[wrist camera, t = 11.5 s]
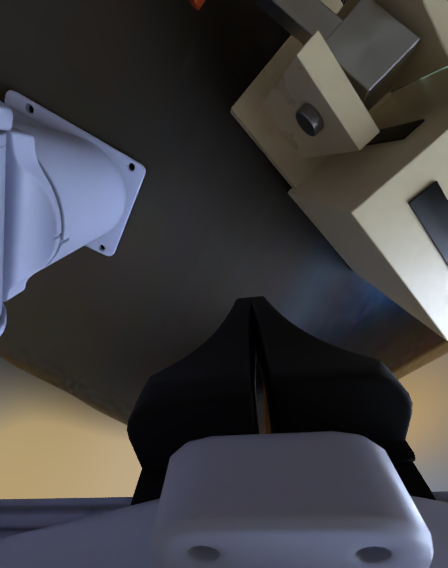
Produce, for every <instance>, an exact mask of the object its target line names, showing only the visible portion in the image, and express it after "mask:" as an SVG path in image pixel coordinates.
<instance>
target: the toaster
mask: <svg viewBox="0 0 448 568" xmlns="http://www.w3.org/2000/svg"><path fill="white" fill-rule="evenodd" d="M392 94H393V95H392V96H391V97H390V98H389V99H388V100H387V101H386V102H385V103H384V104H383V105H382V106H381V107H380V108H379V109H378V110H377V111H376V112H375V113H374V114H372V115H371V118H372V119H373V121H374V123H375V124H376V126H377V127H378V129H379V131H380V132H379V133H378V134H377V135H376V136H375V137H374V138H373V139H372V140H371V141H370V142H369V143H367V144H366V145H365V146H364V147H363V148H362V149H361V150H360V151H354V152H346V153H339V154H332V155H330V156H329V157H328V158H327V159H326V160H325V161H324V162H323V163H322V164H321V165H320V166H319V167H318V168H317V169H316V170H315V171H314V172H313V173H312V174H311V175H310V176H309V177H308V178H307V179H306V180H305V181H304V182H303V183H302V184H301V185H300V186H299V187H298V188H291V189H290V190H289V191H288V194H289V195H290V196H291V198H292V199H293V200H294V201H295V202H296V204H297V205H298V206H299V207H300V208H301V210H302V211H303V212H304V213H305V214H306V215H307V217H308V218H309V219H310V220H311V221H312V223H313V224H314V225H315V226H316V227H317V229H318V230H319V231H320V232H321V233H322V234H323V236H324V237H325V238H326V239H327V240H328V242H329V243H330V244H331V245H332V246H333V248H334V249H335V250H336V251H337V252H338V254H339V255H340V256H341V257H342V258H343V259H344V261H345V262H346V263H347V264H348V265H349V267H350V268H351V269H352V270H353V271H354V272H355V273H356V274H357V275H359V276H360V277H361V278H363V279H364V280H365V281H367V282H368V283H369V284H371V285H372V286H374V287H375V288H376V289H378V290H379V291H380V292H382V293H383V294H384V295H386V296H387V297H388V298H390V299H391V300H392V301H394V302H395V303H397V304H398V305H399V306H401V307H402V308H403V309H405V310H406V311H407V312H409V313H410V314H411V315H413V316H414V317H415V318H417V319H418V320H419V321H421V322H422V323H424V324H425V325H426V326H428V327H429V328H430V329H432V330H433V331H434V332H436V333H437V334H438V335H440V336H441V337H442V338H444V339H445V340H447V341H448V67H447V68H445V69H442V70H440V71H438V72H436V73H433V74H431V75H429V76H427V77H424V78H422V79H420V80H418V81H415V82H413V83H411V84H409V85H407V86H404V87H402V88H400V89H398V90H395V91H393V92H392Z"/></svg>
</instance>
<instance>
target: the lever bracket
mask: <svg viewBox="0 0 448 568" xmlns="http://www.w3.org/2000/svg"><path fill="white" fill-rule="evenodd" d="M320 1H321V2H322V3H324V4H325V5H326V6H327V7H328V8H330V9H331V10H332V11H333V12H334V13H335V14H337V15H338V16H339V17H340V18H341V19H343V20H344V19H345V17H346V16H347V15H348V14H349V13H350V12H351V11H352V9H353V8H354V7H355V6H356V5H357V4H358V3H359V1H360V0H347V1H346V3H345V4H344V5H343V4H342V2H341V0H320ZM374 1H375V2H376V3H377V4H379V5H380V6H381V7H382V8H384V9H385V10H386V11H387V12H389V13H390V14H391V15H392V16H394V17H395V18H396V19H397V20H399V21H400V22H401V23H402V24H403V25H405V26H406V27H407V28H408V29H410V30H411V31H412V32H413V33H415V34H416V35H417V36H418V37H420V40H419V42H418V44H417V46H416V48H415V50H414V51H413V53H412V55H411V57H410V59H409V61H408V63H407V65H406V67H405V68H404V70H403V72H402V74H401V76H400V78H399V80H398V82H397V83H396V85H395V86H394V87H393V88H392V89H391V90H390V91H389V92H388V93H387V94H386V95H385V96H384V97H383V98H382V99H381V100H380V101H379V102H378V103H377V104H376V105H375V106H373V107H372V108H371V109H370V110H369V111H367V109H366V108H365V106H364V104H363V103H362V101H361V99H360V98H359V96H358V95H357V93H356V91H355V90H354V88H353V86H352V85H351V83H350V81H349V80H348V78H347V76H346V75H345V73H344V71H343V70H342V68H341V66H340V65H339V63H338V62H337V60H336V58H335V57H334V55H333V53H332V52H331V50H330V48H329V47H328V45H327V43H326V42H325V40H324V38H323V37H322V35H321V34H320V32H319V30H317V31H316V32H315V33H314V34H313V36H312V37H311V38H310V39H309V40H308V41H307V43H306V44H305V45H304V46H303V45H302V44H301V43H300V42H299V41H298V40H297V39H295V38H294V37H293V36H292V35H291V36H290V37H289V38H288V39H287V40H286V42H285V43H284V44H283V45H282V47H281V48H280V49H279V50H278V51H277V53H276V54H275V55H274V56H273V57H272V59H271V60H270V61H269V62H268V64H267V65H266V66H265V67H264V68H263V70H262V71H261V72H260V73H259V75H258V76H257V77H256V78H255V79H254V81H253V82H252V83H251V84H250V86H249V87H248V88H247V89H246V90H245V92H244V93H243V94H242V95H241V96H240V98H239V99H238V100H237V101H236V103H235V104H234V105H233V106H232V107H231V111H230V113H231V114H232V115H233V117H234V118H235V119H236V120H237V121H238V123H239V124H240V125H241V126H242V128H243V129H244V130H245V131H246V132H247V134H248V135H249V136H250V137H251V138H252V140H253V141H254V142H255V143H256V145H257V146H258V147H259V148H260V149H261V151H262V152H263V153H264V154H265V155H266V157H267V158H268V159H269V160H270V162H271V163H272V164H273V165H274V166H275V168H276V169H277V170H278V171H279V172H280V174H281V175H282V176H283V177H284V178H285V180H286V181H287V182H288V183H289V185H290V186H291V187H292V188H298V187H299V186H300V185H301V184H302V183H303V182H304V181H305V180H306V179H307V178H308V177H309V176H310V175H311V174H312V173H313V172H314V171H315V170H316V169H317V168H318V167H319V166H320V165H321V164H322V163H323V162H324V161H325V160H326V159H327V158H328V157H329V156H330V155H332V154H339V153H346V152H354V151H360V150H361V149H362V148H363V147H364V146H365V145H366V144H367V143H369V142H370V141H371V140H372V139H373V138H374V137H375V136H376V135H377V134H378V133H379V132H380V131H379V129H378V127H377V126H376V124H375V123H374V121H373V119H372V118H371V115H372V114H374V113H375V112H376V111H377V110H378V109H379V108H380V107H381V106H382V105H383V104H384V103H385V102H386V101H387V100H388V99H389V98H390V97H391V96H392V95H393V94H392V92H391V91H393V90H395V89H398V88H400V87H402V86H404V85H407V84H409V83H411V82H413V81H415V80H418V79H420V78H422V77H424V76H427V75H429V74H431V73H433V72H435V71H438V70H440V69H442V68H444V67H447V66H448V0H374Z"/></svg>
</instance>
